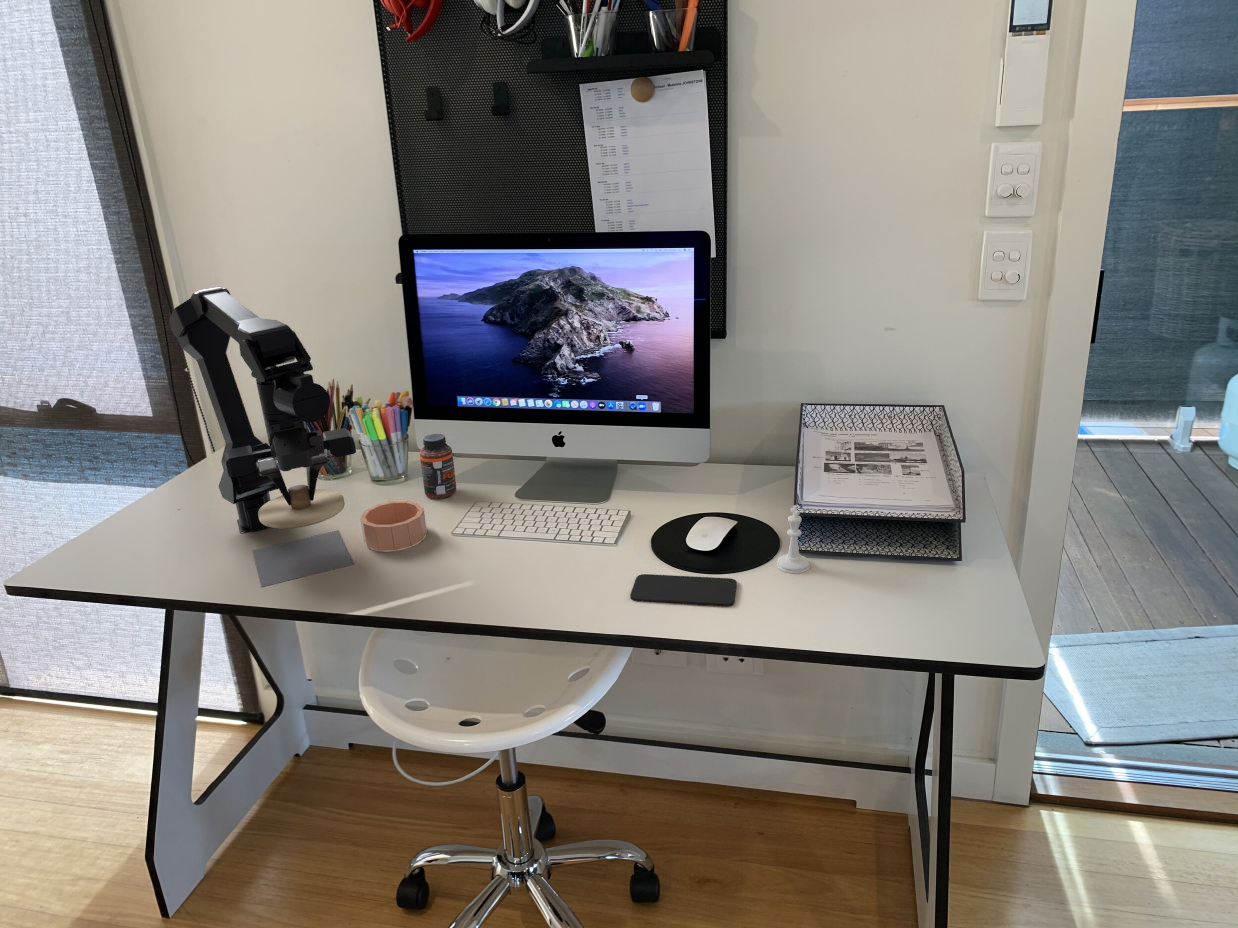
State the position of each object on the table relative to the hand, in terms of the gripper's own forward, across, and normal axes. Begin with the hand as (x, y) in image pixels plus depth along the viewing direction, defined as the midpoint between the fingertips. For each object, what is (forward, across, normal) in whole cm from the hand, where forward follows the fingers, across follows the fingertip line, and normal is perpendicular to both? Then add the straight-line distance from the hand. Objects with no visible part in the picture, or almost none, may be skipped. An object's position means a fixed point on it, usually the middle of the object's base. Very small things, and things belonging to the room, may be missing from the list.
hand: (300, 502), depth 142 cm
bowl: (+10, +14, -1) cm, 17 cm away
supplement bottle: (+10, +25, +14) cm, 31 cm away
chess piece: (+10, +65, -41) cm, 78 cm away
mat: (+10, -1, 0) cm, 10 cm away
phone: (+11, +47, -39) cm, 62 cm away
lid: (+1, 0, 0) cm, 1 cm away
